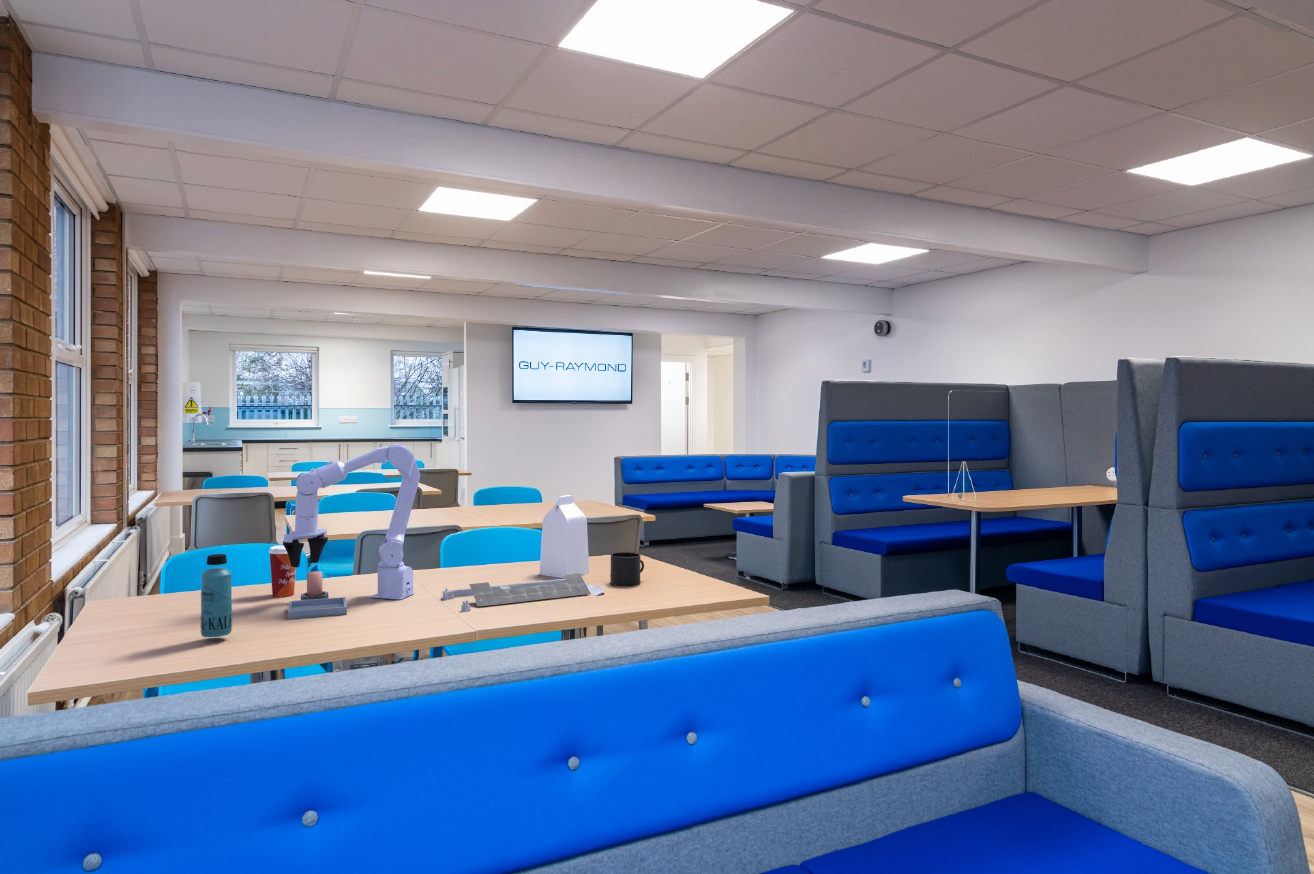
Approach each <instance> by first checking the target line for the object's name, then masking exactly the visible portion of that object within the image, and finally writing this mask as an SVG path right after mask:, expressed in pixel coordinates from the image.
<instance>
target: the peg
mask: <svg viewBox="0 0 1314 874" xmlns="http://www.w3.org/2000/svg"><path fill="white" fill-rule="evenodd" d="M322 591H323V571H318V570H317V571H307V573H306V592H307V596H319V595H322Z"/></svg>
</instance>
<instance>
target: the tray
mask: <svg viewBox="0 0 1314 874" xmlns="http://www.w3.org/2000/svg"><path fill="white" fill-rule="evenodd" d="M347 607H348V606H347V600H346V596H342V597H340V596H339V597H328V598H326V599H312V600H301V599H300V600H290V601H288V611H287V620H295V619H296V620H297V619H308V618H309V619H310V618H320V617H333V616H335V617H336V616H347V614H348V608H347Z"/></svg>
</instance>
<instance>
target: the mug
mask: <svg viewBox="0 0 1314 874" xmlns="http://www.w3.org/2000/svg"><path fill="white" fill-rule="evenodd" d="M644 569H645V563H644V561H643V560H642V559H641V554H640V553H638V552H631V551H630V552H629V551H621V552H620V551H619V552H613V553H611V554H610V576H609V577H610V578H609V579H610V583H611V585H614V586H618V587H619V586H620V587H621V586H622V587H631V586H632V587H633V586H636V585H639V584H640V583H641V573H642V572H643V571H644Z"/></svg>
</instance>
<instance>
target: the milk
mask: <svg viewBox="0 0 1314 874" xmlns="http://www.w3.org/2000/svg"><path fill="white" fill-rule="evenodd" d="M573 497H574V496H573V495H571V494H568V495H560V496H559V495H558V496H557V500H556V503H555V505H554V506H553V507H552V508H551V509H550V510H549V511H548V512H547V513H546V514H545V515H544V517H543V519H542V522H541V523H542V526H541V528H542V529H541V542H540V545H541V546H540V559H539V561H540V562H539V564H540V566H539V575H541V576H547V577H552V578H553V577H554V578H558V579H559V578H560V579H565V578H564V576H563V575H567V574H577V573H580V574H581V576H583V575H586V574H589V573H590V564H589V563H590V562H589V561H590V560H589V559H590V558H589V539H588V536H589V535H588V521H587V517H586V515H585V514H584V512H582V510H581V509H580V508H579V507H578V506H577V505H576V504H575V502H574V498H573Z"/></svg>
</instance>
